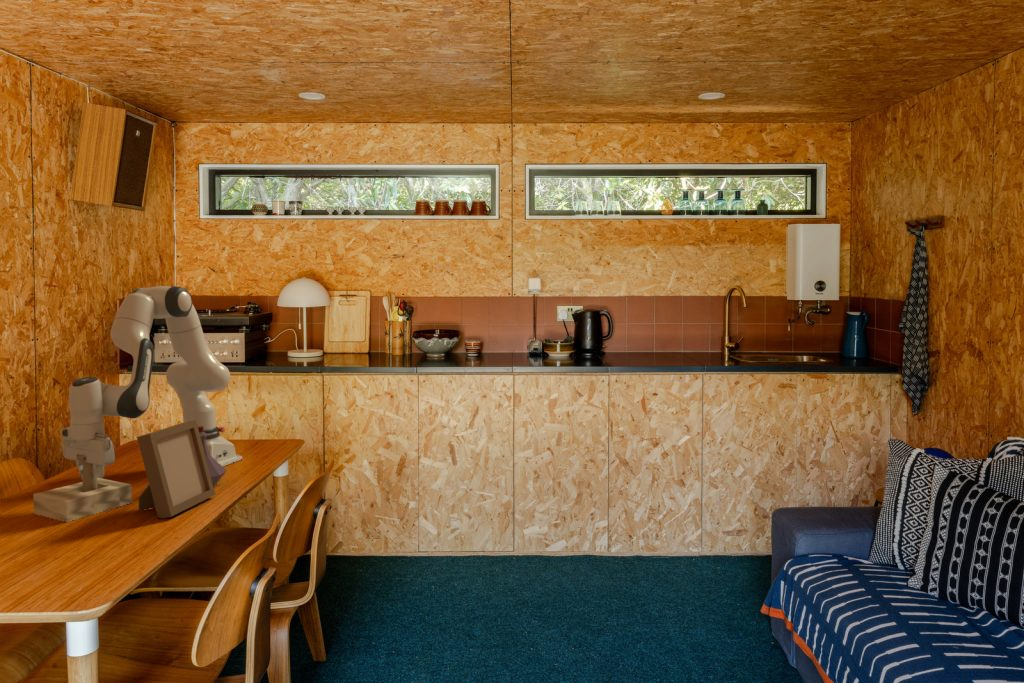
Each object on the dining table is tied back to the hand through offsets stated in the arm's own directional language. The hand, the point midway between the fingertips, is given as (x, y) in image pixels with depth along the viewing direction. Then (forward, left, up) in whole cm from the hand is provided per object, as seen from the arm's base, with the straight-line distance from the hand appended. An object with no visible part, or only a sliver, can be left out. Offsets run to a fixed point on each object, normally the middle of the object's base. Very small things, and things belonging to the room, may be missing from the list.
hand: (89, 476), depth 220 cm
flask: (-32, +10, -10) cm, 35 cm away
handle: (0, 0, -8) cm, 8 cm away
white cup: (-20, -30, -10) cm, 37 cm away
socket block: (+2, 0, -9) cm, 10 cm away
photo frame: (-11, +22, -10) cm, 27 cm away
